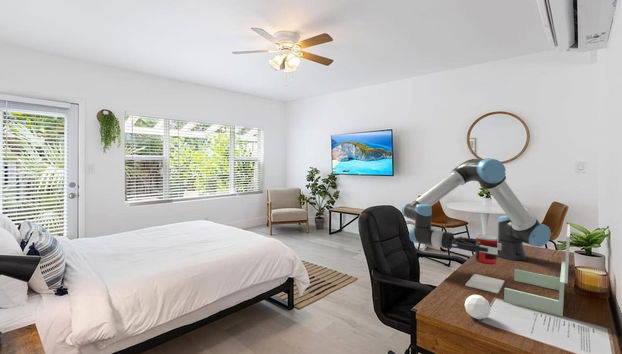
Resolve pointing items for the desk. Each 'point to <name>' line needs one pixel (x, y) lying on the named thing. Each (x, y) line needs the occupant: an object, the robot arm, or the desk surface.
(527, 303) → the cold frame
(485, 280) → the tile pad
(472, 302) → the ball
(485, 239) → the canned food
